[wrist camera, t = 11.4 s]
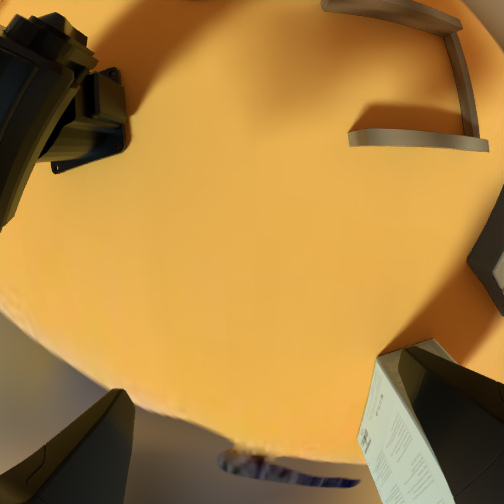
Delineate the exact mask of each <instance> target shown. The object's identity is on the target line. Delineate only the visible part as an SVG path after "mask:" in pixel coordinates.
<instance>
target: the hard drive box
mask: <svg viewBox="0 0 504 504" xmlns="http://www.w3.org/2000/svg"><path fill="white" fill-rule="evenodd" d="M415 345H416V346H418V347H420V348H422V349H424V350H427V351H429V352H431V353H433V354H436V355H438V356H440V357H442V358H445V359H447V360H449V361H451V362H454V363H456V364H458V363H457V362H456V361H455V360H454V359H453V358H452V357H451V355H450V354H449V353H448V352H447V351H446V350H445V349H444V348H443V347H442V346H441V345H440V344H439V343H438V342H437V341H436V340H435V339H434V338H432V339H429V340H427V341H424V342H421V343H418V344H415ZM401 350H402V349H400V350H397V351H394V352H391V353H388V354H385V355H381V356H378V357H377V359H376V364H375V369H374V375H373V377H372V383H371V387H370V393H369V397H368V401H367V405H366V409H365V413H364V416H363V419H362V423H361V426H360V431H359V434H358V437H357V439H358V442H359V444H360V447H361V449H362V452H363V454H364V457H365V459H366V462H367V464H368V467H369V469H370V472H371V474H372V477H373V479H374V481H375V484H376V487H377V489H378V492H379V494H380V497H381V499H382V502H383V504H455V502H454V499H453V496H452V494H451V491H450V489H449V486H448V484H447V482H446V479H445V477H444V475H443V472H442V470H441V468H440V465H439V463H438V461H437V459H436V456H435V454H434V452H433V450H432V448H431V446H430V444H429V441H428V439H427V437H426V435H425V433H424V431H423V429H422V427H421V425H420V423H419V421H418V419H417V417H416V415H415V413H414V411H413V409H412V406H411V404H410V401H409V399H408V396H407V393H406V391H405V388H404V385H403V383H402V380H401V378H400V375H399V373H398V363H399V359H400V354H401ZM458 365H459V364H458Z"/></svg>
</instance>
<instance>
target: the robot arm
mask: <svg viewBox="0 0 504 504" xmlns="http://www.w3.org/2000/svg"><path fill="white" fill-rule="evenodd" d="M87 38H88V37H86V36H85V35H84V34H82V33H81V32H79V31H78V30H77V29H75V28H74V27H73V26H72V25H71V24H70V23H69V22H68V20H67V19H66V18H65V17H63V16H62V15H60V14H58V13H56V12H54V13H50V14H47V15H44V16H41V17H38V18H37V17H35V16H33V15H32V16H31V17H30V18H29V19H27V18H25V17H23V16H21V15H18V14H16V15H15V16H14V18H13V19H12V20H11V22H10V23H9V24H8V26H7V27H4V26H2V25H0V233H1V231H2V227H3V226H5V225H6V224H7V223H8V222H9V221H10V220H11V219H12V218H13V217H14V215H15V212H16V209H17V207H18V204H19V201H20V199H21V196H22V193H23V191H24V188H25V186H26V184H27V181H28V179H29V177H30V174H31V172H32V170H33V168H34V166H35V164H36V163H40V162H51V168H52V172H53V173H54V174H60V173H63V172H66V171H68V170H71V169H74V168H77V167H80V166H82V165H85V164H88V163H91V162H94V161H98V160H101V159H104V158H107V157H110V156H114V155H117V154H121V153H123V152H124V151H125V149H126V137H125V128H124V123H125V122H126V120H127V116H126V106H125V93H124V87H122V86H121V78H120V70H119V69H117V68H116V67H112V68H109V69H106V70H104V71H101V72H99V73H98V72H96V71H95V72H92V73H91V72H89V71H90V70H91V69H92V70H93V68H94V67H95V66H96V65H97V63H98V62H99V61H98V60H96V59H95V58H93V57H92V56H93V55H94V52H92V51H91V50H89V49H88V48H86V46H87ZM113 72H115V74H114V75H113V76H112V77H111V74H112V73H113ZM118 143H120V144H121V148H120V149H119V150H118V149H117V144H118ZM57 165H58V166H59V169H58V170H57ZM398 373H399V375H400V378H401V380H402V383H403V385H404V388H405V391H406V393H407V396H408V399H409V401H410V404H411V406H412V409H413V411H414V413H415V415H416V417H417V419H418V421H419V423H420V425H421V427H422V429H423V431H424V433H425V435H426V437H427V439H428V441H429V444H430V446H431V448H432V450H433V452H434V454H435V456H436V459H437V461H438V463H439V465H440V468H441V470H442V472H443V475H444V477H445V479H446V482H447V484H448V486H449V489H450V491H451V494H452V496H453V499H454V502H455V504H504V384H502V383H500V382H498V381H497V382H496V381H495V380H493V379H490V378H488V377H486V376H484V375H481V374H479V373H477V372H474V371H472V370H470V369H467V368H465V367H463V366H461V365H458V364H456V363H454V362H451V361H449V360H447V359H445V358H442V357H440V356H438V355H436V354H433V353H431V352H429V351H427V350H424V349H422V348H420V347H418V346H416V345H410V346H407V347H404V348H403V349H402V350H401V354H400V359H399V363H398ZM134 420H135V406H134V404H133V402H132V400H131V399H130V397H129V395H128V394H127V392H126V391H125V390H124V389H117V388H114V389H112V390H110V391H109V392H108V393H107V394H106V395H104V396H103V397H102V398H101V399H100V400H99V401H97V402H96V403H95V404H94V405H92V406H91V407H90V408H89V409H88V410H86V411H85V412H84V413H83V414H82V415H80V416H79V417H78V418H77V419H75V420H74V421H73V422H72V423H71V424H70V425H68V426H67V427H66V428H65V429H63V430H62V431H61V432H60V433H58V434H57V435H56V436H55V437H54V438H52V439H51V440H50V441H49V442H47V443H46V445H44V446H42V447H41V448H40V449H39V450H38V451H36V452H35V453H34V454H32V455H31V456H29V457H28V458H27V459H25V460H24V461H22V462H21V463H19V464H17V465H16V466H14V467H13V468H11V469H10V470H8V471H6V472H5V473H3V474H1V475H0V504H123V503H124V495H125V488H126V481H127V475H128V469H129V463H130V457H131V452H132V444H133V432H134Z"/></svg>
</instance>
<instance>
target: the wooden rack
mask: <svg viewBox="0 0 504 504" xmlns="http://www.w3.org/2000/svg"><path fill="white" fill-rule="evenodd" d="M321 5H322V8H323V11H328V12H337V13H346V14H353V15H359V16H365V17H371V18H376V19H381V20H386V21H390V22H394V23H398V24H402V25H406V26H410V27H413V28H417V29H420V30H423V31H426V32H429V33H432V34H435V35H438V36H441V37H443V38H444V41H445V44H446V47H447V50H448V54H449V57H450V61H451V65H452V68H453V72H454V77H455V81H456V86H457V90H458V95H459V101H460V107H461V113H462V120H463V127H464V136H462V135H454V134H446V133H438V132H428V131H416V130H401V129H377V128H366V129H362V130H357V131H352V132H348V136H349V144H350V147H357V146H404V147H429V148H444V149H456V150H467V151H478V152H489V144H488V140H486V139H480V134H479V126H478V118H477V111H476V105H475V100H474V95H473V90H472V85H471V80H470V76H469V72H468V68H467V64H466V61H465V57H464V54H463V51H462V47H461V44H460V41H459V38H458V35H457V33H456V32H457V31H459V30H462V29H463V28H462V25H461V23H460V20H459V19H457V18H455V17H452V16H450V15H448V14H446V13H443V12H441V11H438V10H436V9H433V8H431V7H428V6H426V5H423V4H420V3H417V2H414V1H411V0H321Z"/></svg>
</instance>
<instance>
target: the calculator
mask: <svg viewBox="0 0 504 504" xmlns="http://www.w3.org/2000/svg"><path fill="white" fill-rule="evenodd" d="M467 263H468V264H469V266H470V267H471V268H472V270H473V271H474V273H475V274H476V276H477V277H478V279H479V280H480V281H481V282H482V283H483V285H484V286H485V288H486V290H487V291H488V293H489V295H490V296H491V298H492V300H493V302H494V303H495V305H496V307H497V308H498V310H499V312H500V313H501V315H502V316H503V317H504V185H503V188H502V190H501V192H500V195H499V197H498V199H497V202H496V204H495V206H494V208H493V210H492V213H491V215H490V217H489V219H488V221H487V223H486V225H485V227H484V229H483V231H482V233H481V234H480V236H479V238H478V240H477V242H476V244H475V245H474V247H473V249H472V251H471V252H470V254H469V256H468V258H467Z"/></svg>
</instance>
